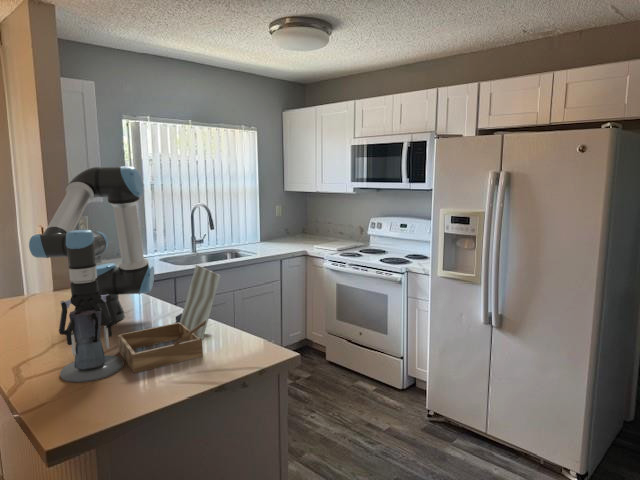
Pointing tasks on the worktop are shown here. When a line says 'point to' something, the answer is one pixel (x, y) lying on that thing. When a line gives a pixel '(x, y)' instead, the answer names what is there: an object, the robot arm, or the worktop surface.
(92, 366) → the moka pot
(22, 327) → the worktop surface
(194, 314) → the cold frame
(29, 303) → the worktop surface
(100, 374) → the disc
